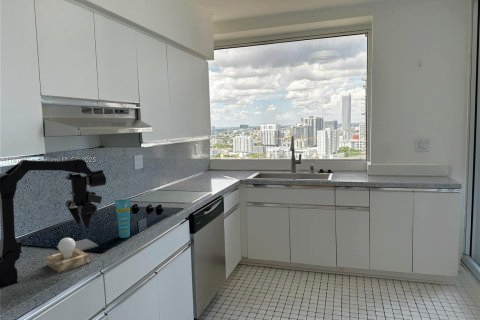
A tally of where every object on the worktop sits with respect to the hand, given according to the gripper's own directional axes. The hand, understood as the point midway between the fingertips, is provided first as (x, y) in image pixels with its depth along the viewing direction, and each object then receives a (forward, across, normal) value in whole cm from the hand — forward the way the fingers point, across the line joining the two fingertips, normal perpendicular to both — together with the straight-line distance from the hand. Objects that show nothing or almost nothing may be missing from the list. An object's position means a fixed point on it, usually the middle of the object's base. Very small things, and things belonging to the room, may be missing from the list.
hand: (82, 225), depth 144 cm
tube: (+15, +16, -26) cm, 34 cm away
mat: (+15, +19, -4) cm, 24 cm away
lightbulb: (+15, +1, +6) cm, 16 cm away
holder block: (+15, +1, +6) cm, 16 cm away
